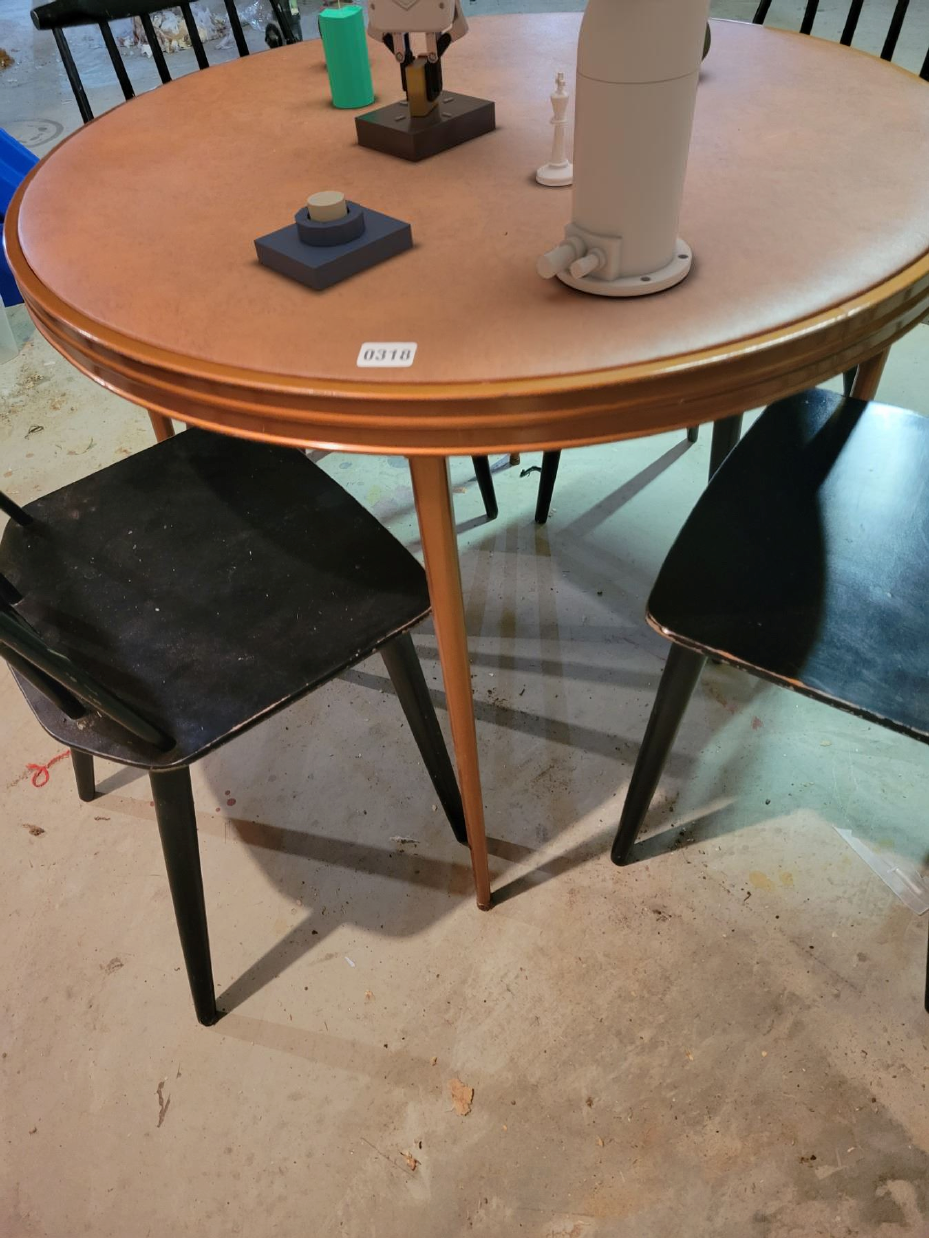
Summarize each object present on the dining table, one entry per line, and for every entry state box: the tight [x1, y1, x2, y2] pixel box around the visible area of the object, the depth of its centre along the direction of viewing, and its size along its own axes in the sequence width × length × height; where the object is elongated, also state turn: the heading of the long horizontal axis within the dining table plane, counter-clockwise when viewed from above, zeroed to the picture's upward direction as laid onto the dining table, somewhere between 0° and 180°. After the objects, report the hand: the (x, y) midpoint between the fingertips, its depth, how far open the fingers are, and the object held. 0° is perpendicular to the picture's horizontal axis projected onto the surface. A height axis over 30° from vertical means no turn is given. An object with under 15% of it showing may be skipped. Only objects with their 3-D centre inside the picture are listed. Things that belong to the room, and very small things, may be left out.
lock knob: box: [405, 52, 439, 116], centre depth 95 cm, size 5×2×5 cm, turn 163°
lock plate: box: [354, 89, 496, 163], centre depth 98 cm, size 14×11×3 cm
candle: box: [317, 0, 375, 109], centre depth 106 cm, size 6×6×12 cm
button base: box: [253, 199, 414, 292], centre depth 76 cm, size 12×10×4 cm
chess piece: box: [535, 71, 573, 187], centre depth 83 cm, size 5×5×10 cm
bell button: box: [306, 190, 348, 222], centre depth 74 cm, size 4×4×2 cm
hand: (423, 97), depth 96 cm, fingers closed on lock knob, 2 cm apart
